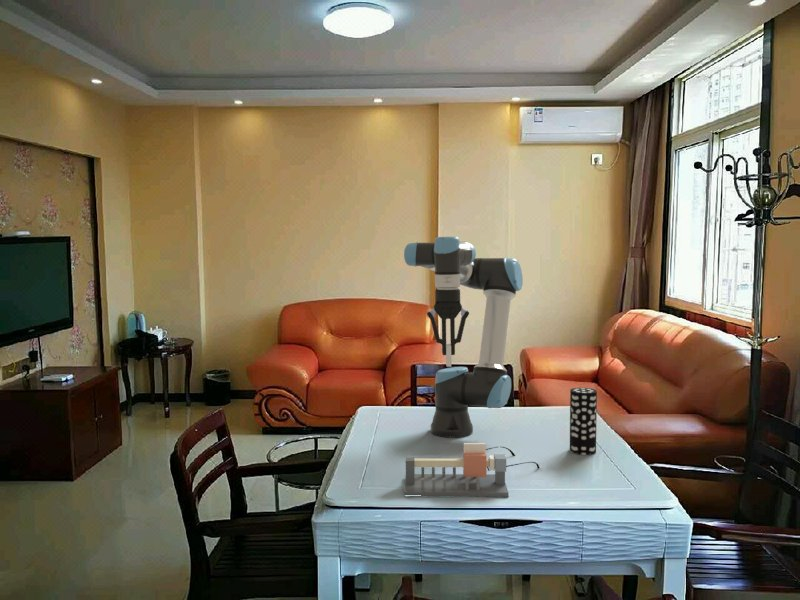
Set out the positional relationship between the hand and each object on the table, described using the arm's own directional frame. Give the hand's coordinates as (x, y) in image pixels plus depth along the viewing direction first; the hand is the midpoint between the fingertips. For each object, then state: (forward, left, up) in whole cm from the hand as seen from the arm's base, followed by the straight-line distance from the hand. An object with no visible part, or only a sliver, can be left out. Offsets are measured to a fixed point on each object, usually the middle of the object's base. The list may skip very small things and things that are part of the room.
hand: (448, 365), depth 201 cm
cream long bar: (+14, -12, -26) cm, 32 cm away
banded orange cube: (+18, -9, -27) cm, 33 cm away
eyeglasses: (+13, +12, -32) cm, 36 cm away
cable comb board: (+14, -13, -31) cm, 36 cm away
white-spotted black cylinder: (+22, +41, -31) cm, 56 cm away
